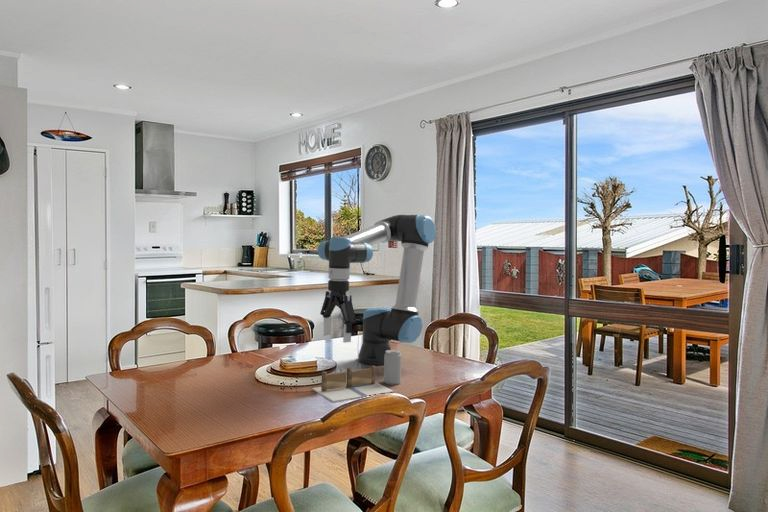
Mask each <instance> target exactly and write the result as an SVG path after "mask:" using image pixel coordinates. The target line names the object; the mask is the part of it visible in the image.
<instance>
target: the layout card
mask: <svg viewBox="0 0 768 512" xmlns="http://www.w3.org/2000/svg"><path fill="white" fill-rule="evenodd" d="M346 385H347V382H346ZM311 389H312V390H313V391H314V392H316V393H317V394H319V395H320V396H322V397H324V398H326V399H327V400H329V401H331V402H332V403H337V402H338V401H339V402H343V401H344V400H345V401H349V400H348V399H351V400H357V399H362V398H361V397H363V398H366V397H365V396H369V395H373V394H380V393H387V394H391V393H390V392H393V393H395V391H394V390H392V389H390V388H389V387H387V386H385V385H382V384H380V383H378V382H376V381H375V384H370V383H368V384H361V385H355V386H351V388H347V387H342V388H335V389H329V390H326V391H321V386H318V387H313V388H311ZM357 397H359V398H357ZM369 397H370V396H369ZM339 402H338V403H339Z"/></svg>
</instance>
